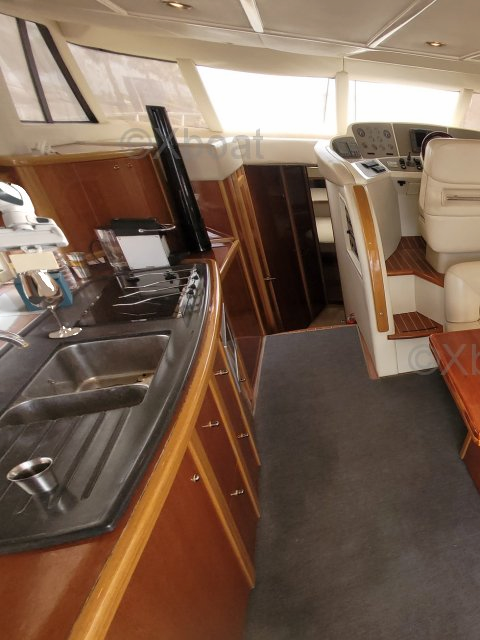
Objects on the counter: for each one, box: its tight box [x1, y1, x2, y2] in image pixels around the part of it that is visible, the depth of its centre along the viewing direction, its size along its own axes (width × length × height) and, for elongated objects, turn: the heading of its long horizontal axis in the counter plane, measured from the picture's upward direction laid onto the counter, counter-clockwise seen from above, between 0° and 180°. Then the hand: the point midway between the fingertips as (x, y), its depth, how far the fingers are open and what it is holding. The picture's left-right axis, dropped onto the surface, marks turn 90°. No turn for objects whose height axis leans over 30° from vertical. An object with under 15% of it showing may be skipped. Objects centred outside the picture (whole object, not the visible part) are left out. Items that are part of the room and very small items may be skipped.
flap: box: [8, 250, 60, 274], centre depth 140 cm, size 6×11×1 cm
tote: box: [12, 270, 73, 312], centre depth 140 cm, size 13×11×10 cm
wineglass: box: [19, 269, 82, 339], centre depth 118 cm, size 8×8×20 cm
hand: (35, 258), depth 143 cm, fingers closed
